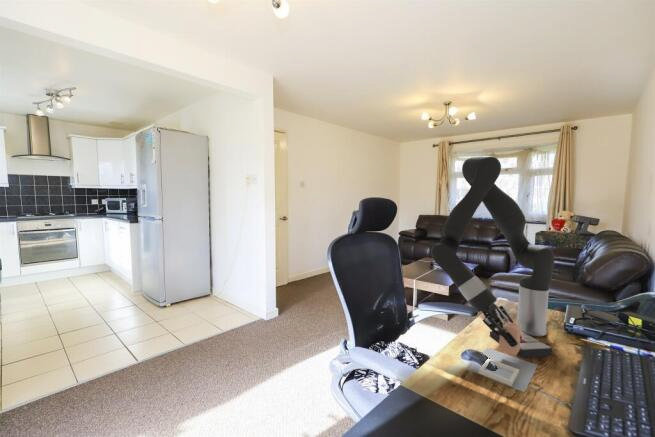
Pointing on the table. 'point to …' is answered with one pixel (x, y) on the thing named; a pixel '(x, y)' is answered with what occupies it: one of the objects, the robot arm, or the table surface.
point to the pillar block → (515, 332)
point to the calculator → (529, 346)
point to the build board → (506, 369)
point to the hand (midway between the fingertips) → (517, 342)
